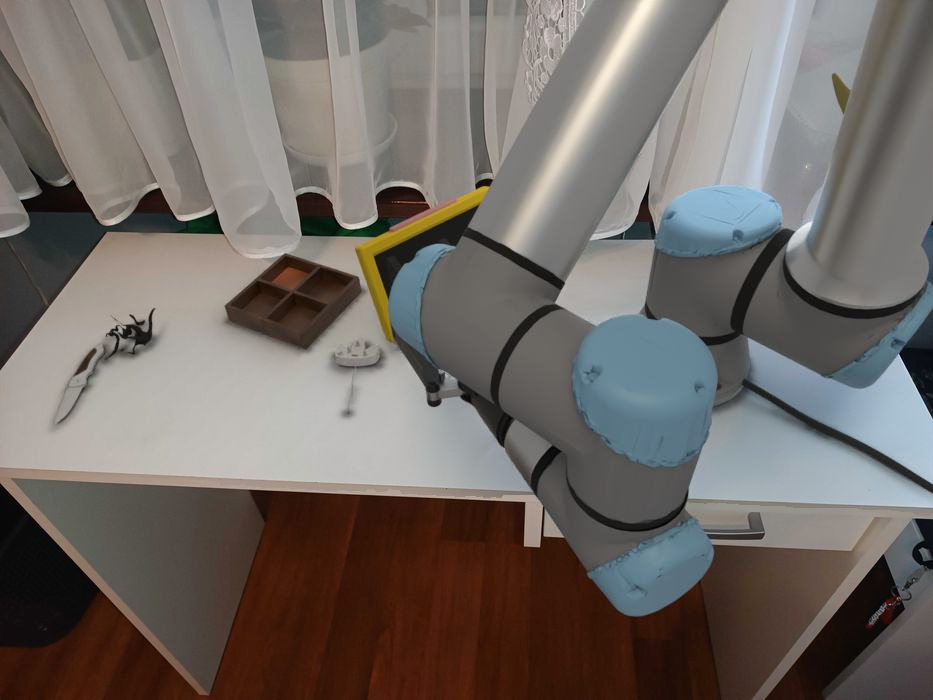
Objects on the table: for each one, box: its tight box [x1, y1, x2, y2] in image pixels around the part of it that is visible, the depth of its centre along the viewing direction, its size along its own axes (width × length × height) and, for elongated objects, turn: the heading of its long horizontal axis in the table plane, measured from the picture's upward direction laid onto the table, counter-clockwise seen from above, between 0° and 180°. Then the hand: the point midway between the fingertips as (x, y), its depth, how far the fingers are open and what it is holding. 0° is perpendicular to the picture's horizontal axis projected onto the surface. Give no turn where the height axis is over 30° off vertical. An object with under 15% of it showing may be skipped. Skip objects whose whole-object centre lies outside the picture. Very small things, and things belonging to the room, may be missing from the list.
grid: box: [224, 252, 363, 350], centre depth 98 cm, size 13×13×3 cm
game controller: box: [334, 337, 382, 414], centre depth 88 cm, size 6×12×3 cm, turn 16°
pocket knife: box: [54, 343, 105, 424], centre depth 89 cm, size 14×1×2 cm
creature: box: [104, 307, 157, 361], centre depth 93 cm, size 8×5×8 cm
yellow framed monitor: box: [354, 185, 490, 343], centre depth 91 cm, size 20×8×16 cm, turn 129°
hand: (417, 259), depth 69 cm, fingers closed on pill bottle, 5 cm apart
